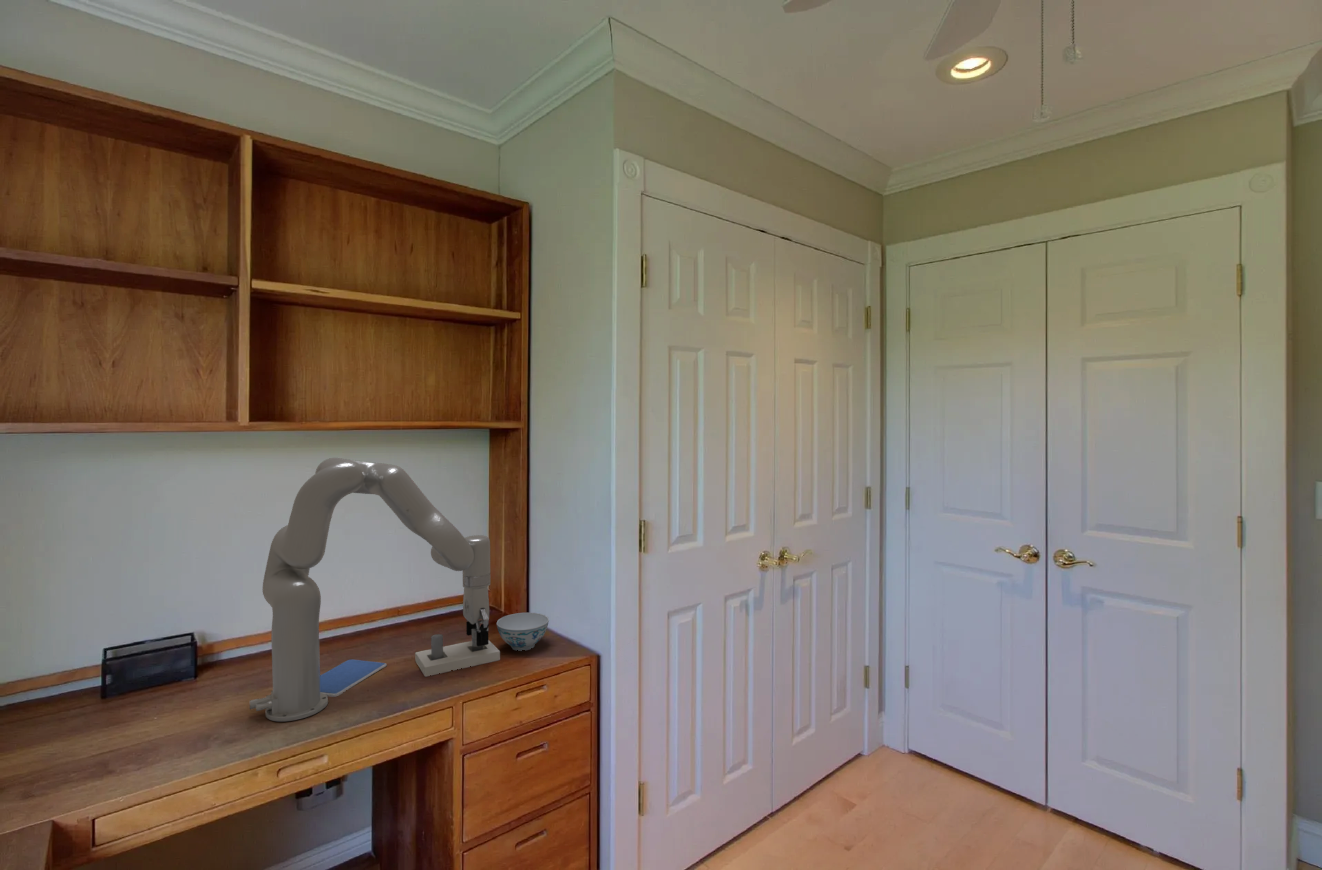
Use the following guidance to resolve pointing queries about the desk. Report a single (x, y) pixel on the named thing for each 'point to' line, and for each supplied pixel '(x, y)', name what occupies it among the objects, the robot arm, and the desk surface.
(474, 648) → the steel pin
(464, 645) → the pin board
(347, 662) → the tablet computer
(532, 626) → the chinaware
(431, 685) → the desk surface
